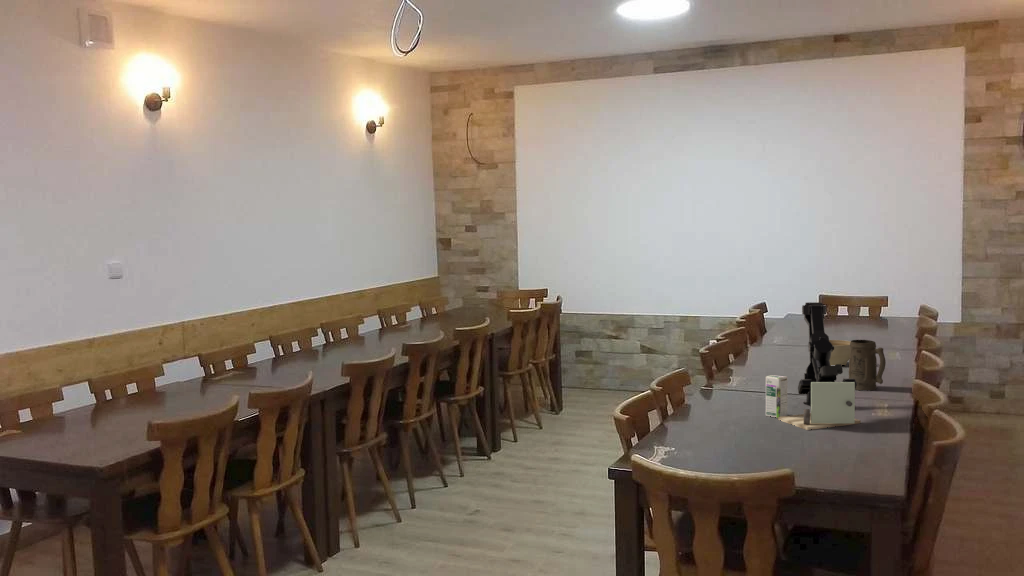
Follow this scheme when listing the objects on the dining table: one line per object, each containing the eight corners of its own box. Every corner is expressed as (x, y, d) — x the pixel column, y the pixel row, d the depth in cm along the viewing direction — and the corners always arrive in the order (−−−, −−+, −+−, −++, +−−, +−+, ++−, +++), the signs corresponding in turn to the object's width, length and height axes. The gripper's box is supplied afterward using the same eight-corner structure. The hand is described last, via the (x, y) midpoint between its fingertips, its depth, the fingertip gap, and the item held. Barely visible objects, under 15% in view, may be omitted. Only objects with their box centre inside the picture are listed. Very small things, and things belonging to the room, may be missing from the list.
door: (811, 422, 285) (810, 382, 284) (853, 422, 283) (853, 382, 282) (812, 424, 282) (812, 383, 281) (855, 424, 280) (856, 383, 279)
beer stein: (841, 388, 345) (845, 340, 342) (854, 384, 352) (857, 337, 349) (878, 395, 333) (882, 346, 331) (890, 391, 341) (894, 343, 338)
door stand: (777, 419, 296) (777, 403, 295) (829, 413, 302) (829, 397, 302) (807, 430, 280) (807, 412, 280) (860, 423, 287) (860, 406, 287)
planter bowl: (810, 363, 402) (810, 341, 401) (838, 361, 407) (838, 339, 406) (832, 369, 387) (832, 345, 386) (861, 366, 392) (861, 343, 391)
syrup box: (764, 416, 302) (764, 376, 300) (774, 413, 305) (773, 374, 304) (778, 418, 297) (778, 378, 296) (788, 415, 301) (788, 376, 300)
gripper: (799, 356, 288) (807, 394, 278) (855, 355, 287) (865, 393, 276) (794, 374, 297) (802, 412, 287) (848, 373, 295) (858, 411, 285)
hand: (831, 407), depth 284 cm, fingers closed on door
